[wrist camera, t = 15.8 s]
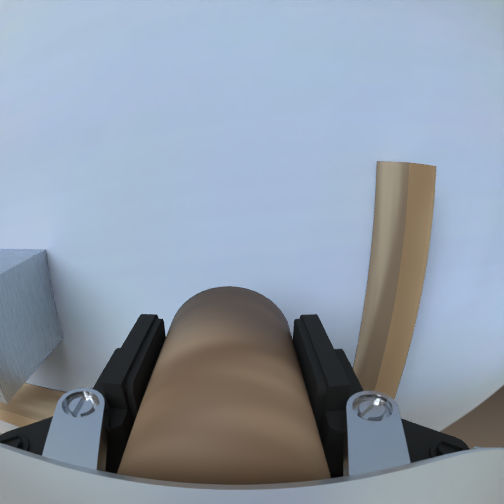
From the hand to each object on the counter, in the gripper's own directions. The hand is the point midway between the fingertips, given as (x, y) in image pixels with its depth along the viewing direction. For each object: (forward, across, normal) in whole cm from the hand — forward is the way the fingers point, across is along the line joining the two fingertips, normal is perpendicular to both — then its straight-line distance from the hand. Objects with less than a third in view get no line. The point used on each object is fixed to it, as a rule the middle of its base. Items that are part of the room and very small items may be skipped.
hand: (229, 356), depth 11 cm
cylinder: (+1, 0, 0) cm, 1 cm away
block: (+4, +12, 0) cm, 12 cm away
